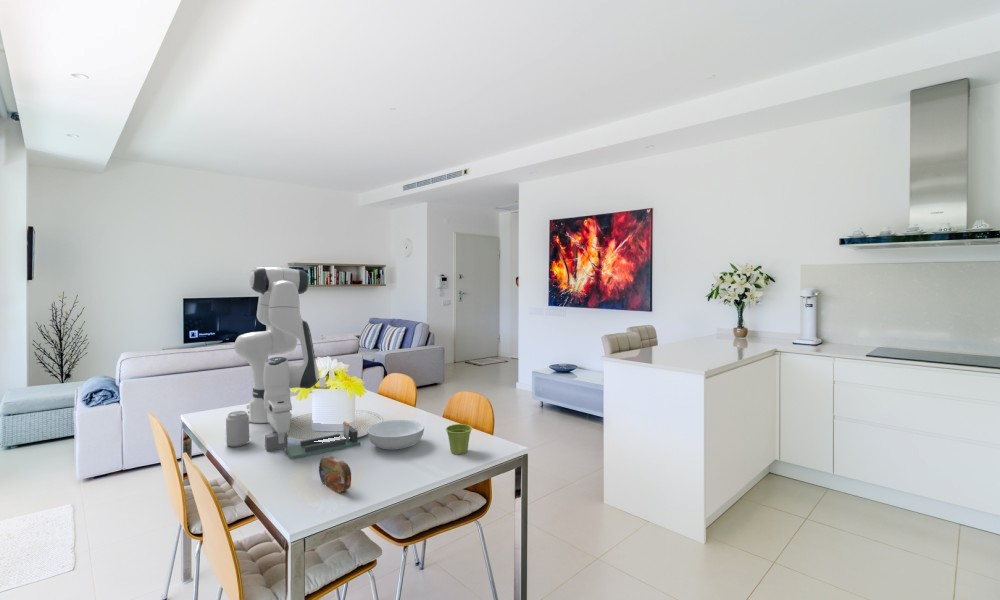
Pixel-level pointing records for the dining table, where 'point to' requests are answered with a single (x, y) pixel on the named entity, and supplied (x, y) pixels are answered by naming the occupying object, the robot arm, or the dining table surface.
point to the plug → (275, 442)
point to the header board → (324, 443)
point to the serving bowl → (395, 434)
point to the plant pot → (458, 438)
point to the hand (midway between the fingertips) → (278, 439)
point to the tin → (335, 474)
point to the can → (237, 428)
